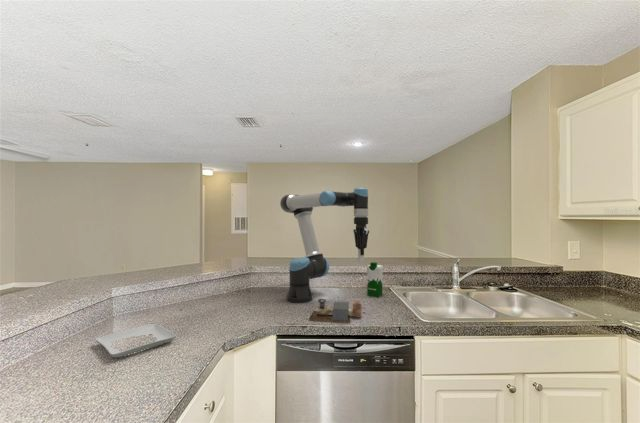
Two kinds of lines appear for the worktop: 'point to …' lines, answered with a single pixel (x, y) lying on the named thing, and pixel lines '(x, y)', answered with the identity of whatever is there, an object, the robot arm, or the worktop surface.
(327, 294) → the worktop surface
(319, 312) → the link
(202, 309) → the worktop surface
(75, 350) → the worktop surface
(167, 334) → the salad plate
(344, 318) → the keeper
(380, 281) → the milk carton
